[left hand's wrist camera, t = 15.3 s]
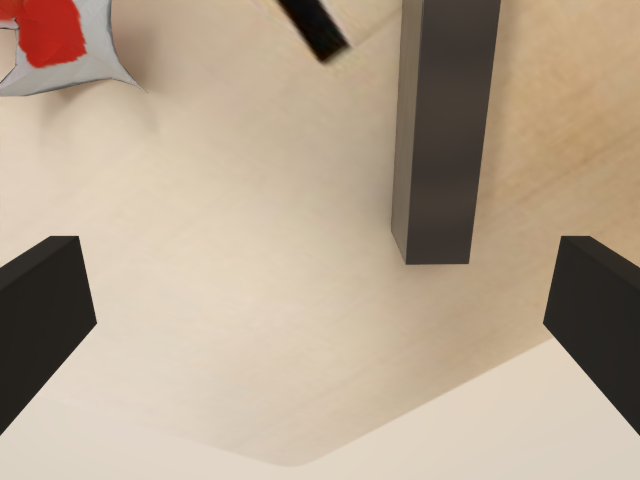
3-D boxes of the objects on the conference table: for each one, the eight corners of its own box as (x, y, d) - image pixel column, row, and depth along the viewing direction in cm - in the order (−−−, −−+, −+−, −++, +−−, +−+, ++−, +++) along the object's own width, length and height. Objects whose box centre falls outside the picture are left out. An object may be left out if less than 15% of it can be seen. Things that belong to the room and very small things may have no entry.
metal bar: (443, 230, 38) (469, 264, 32) (390, 231, 38) (405, 265, 32) (484, -190, 28) (533, -267, 21) (412, -189, 28) (440, -266, 21)
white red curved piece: (8, -222, 24) (-117, -176, 18) (203, 33, 34) (165, 115, 28) (-88, -106, 28) (-213, -40, 22) (110, 87, 39) (61, 167, 33)
